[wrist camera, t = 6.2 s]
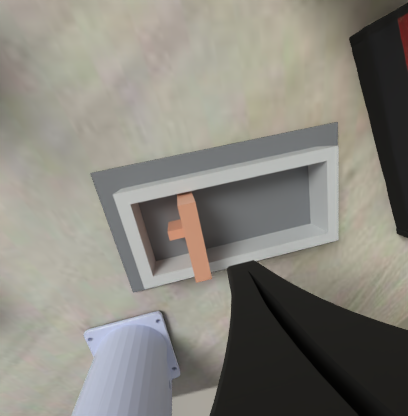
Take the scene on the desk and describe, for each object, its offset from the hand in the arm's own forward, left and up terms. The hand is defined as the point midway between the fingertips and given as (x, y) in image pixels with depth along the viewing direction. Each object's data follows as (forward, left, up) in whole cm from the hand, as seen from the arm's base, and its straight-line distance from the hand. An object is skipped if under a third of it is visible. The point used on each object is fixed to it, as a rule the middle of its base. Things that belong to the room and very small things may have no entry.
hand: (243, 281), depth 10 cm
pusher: (0, +3, -10) cm, 10 cm away
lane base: (0, -2, -10) cm, 11 cm away
